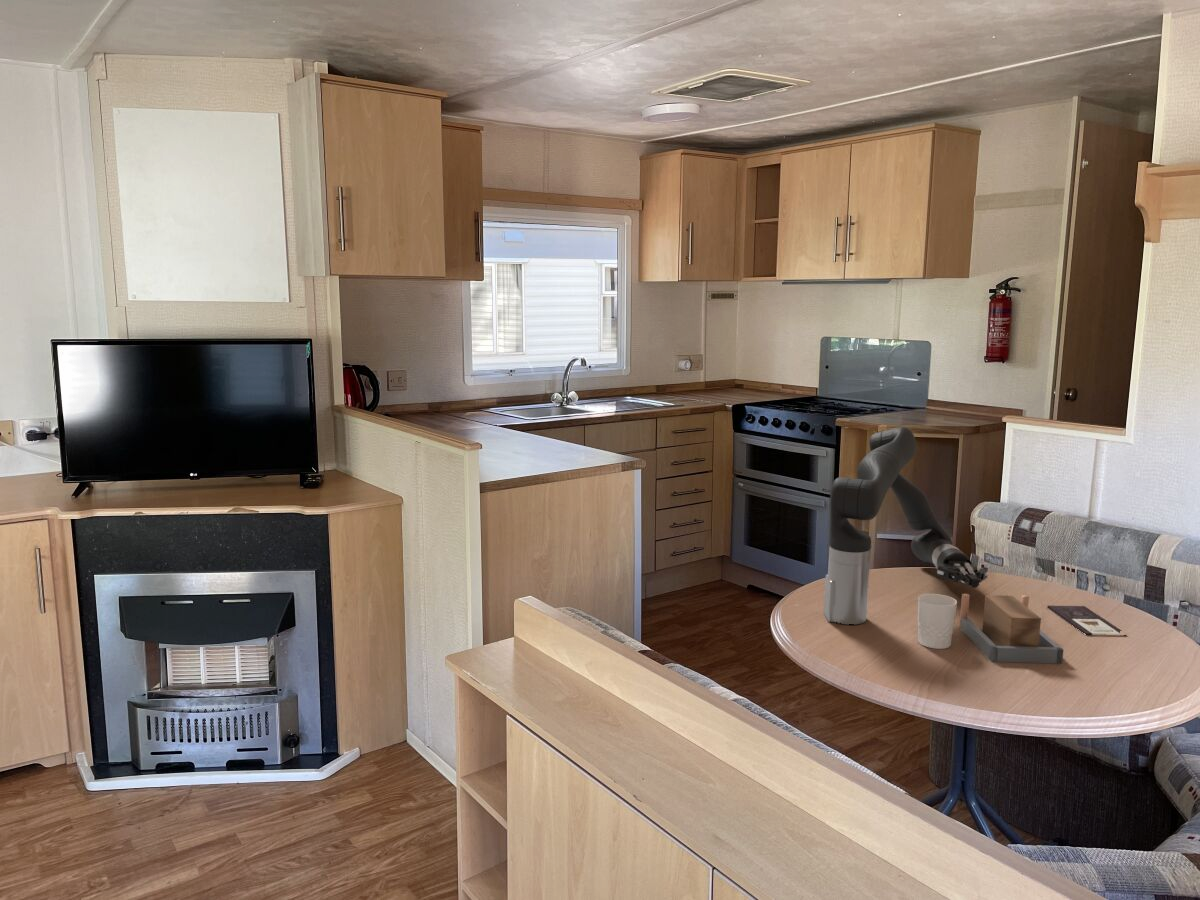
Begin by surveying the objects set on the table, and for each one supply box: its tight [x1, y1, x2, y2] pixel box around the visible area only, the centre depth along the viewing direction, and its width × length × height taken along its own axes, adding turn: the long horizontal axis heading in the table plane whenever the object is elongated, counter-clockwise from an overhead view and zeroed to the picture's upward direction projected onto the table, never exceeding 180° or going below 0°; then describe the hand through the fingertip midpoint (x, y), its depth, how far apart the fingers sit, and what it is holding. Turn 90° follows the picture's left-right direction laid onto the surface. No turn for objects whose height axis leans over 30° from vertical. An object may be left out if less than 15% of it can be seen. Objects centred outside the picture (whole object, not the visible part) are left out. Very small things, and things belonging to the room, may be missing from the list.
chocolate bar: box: [1046, 605, 1122, 636], centre depth 211 cm, size 9×1×18 cm
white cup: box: [917, 593, 958, 650], centre depth 196 cm, size 8×8×10 cm
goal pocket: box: [958, 593, 1064, 664], centre depth 196 cm, size 15×19×8 cm
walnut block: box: [981, 594, 1042, 647], centre depth 195 cm, size 6×14×9 cm, turn 178°
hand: (974, 583), depth 217 cm, fingers closed
